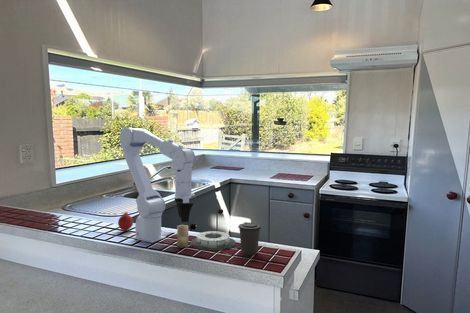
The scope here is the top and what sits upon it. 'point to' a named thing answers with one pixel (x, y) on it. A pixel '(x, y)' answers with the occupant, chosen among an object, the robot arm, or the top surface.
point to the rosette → (213, 241)
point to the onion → (125, 222)
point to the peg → (182, 235)
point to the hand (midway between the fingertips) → (183, 219)
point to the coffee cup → (249, 237)
